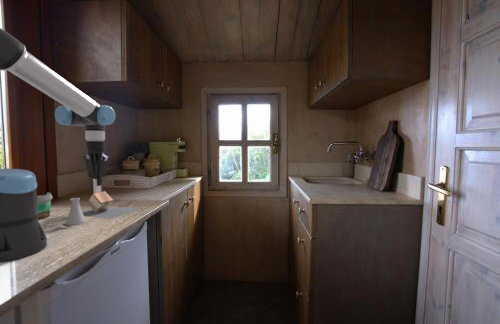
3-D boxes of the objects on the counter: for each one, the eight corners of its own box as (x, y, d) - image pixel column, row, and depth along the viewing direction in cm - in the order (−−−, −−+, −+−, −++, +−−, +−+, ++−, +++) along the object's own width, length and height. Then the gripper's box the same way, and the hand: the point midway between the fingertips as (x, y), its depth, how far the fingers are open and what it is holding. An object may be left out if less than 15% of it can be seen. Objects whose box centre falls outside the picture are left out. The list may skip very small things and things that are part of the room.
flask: (68, 228, 93) (67, 201, 92) (61, 224, 98) (60, 198, 97) (90, 223, 99) (89, 198, 98) (82, 220, 103) (82, 195, 103)
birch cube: (95, 212, 112) (101, 202, 111) (87, 203, 114) (93, 193, 112) (107, 209, 118) (113, 199, 116) (99, 200, 119) (105, 191, 118)
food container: (31, 224, 97) (29, 198, 96) (18, 223, 98) (16, 198, 98) (61, 215, 109) (60, 192, 108) (49, 214, 110) (48, 192, 110)
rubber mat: (109, 220, 103) (109, 218, 103) (71, 214, 110) (71, 213, 110) (139, 210, 118) (139, 209, 118) (104, 206, 125) (104, 205, 125)
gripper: (113, 140, 115) (115, 192, 117) (92, 140, 119) (94, 190, 121) (98, 140, 108) (100, 195, 110) (77, 140, 112) (79, 193, 114)
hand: (97, 192), depth 115 cm, fingers closed
